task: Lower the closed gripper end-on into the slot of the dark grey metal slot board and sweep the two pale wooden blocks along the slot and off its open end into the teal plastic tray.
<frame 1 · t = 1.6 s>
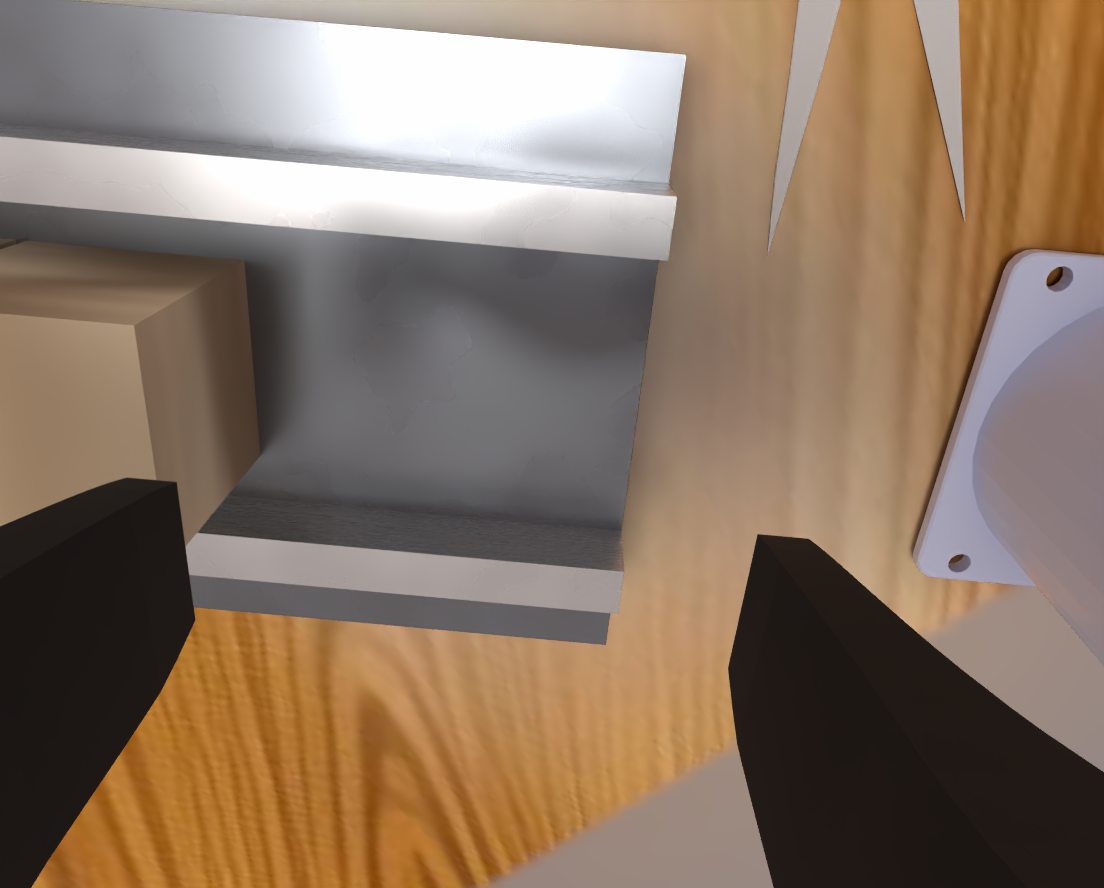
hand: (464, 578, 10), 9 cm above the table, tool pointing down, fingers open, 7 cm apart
block 2: (149, 354, 16), point 3 cm above the table, touching slot board
slot board: (280, 316, 18), on the table
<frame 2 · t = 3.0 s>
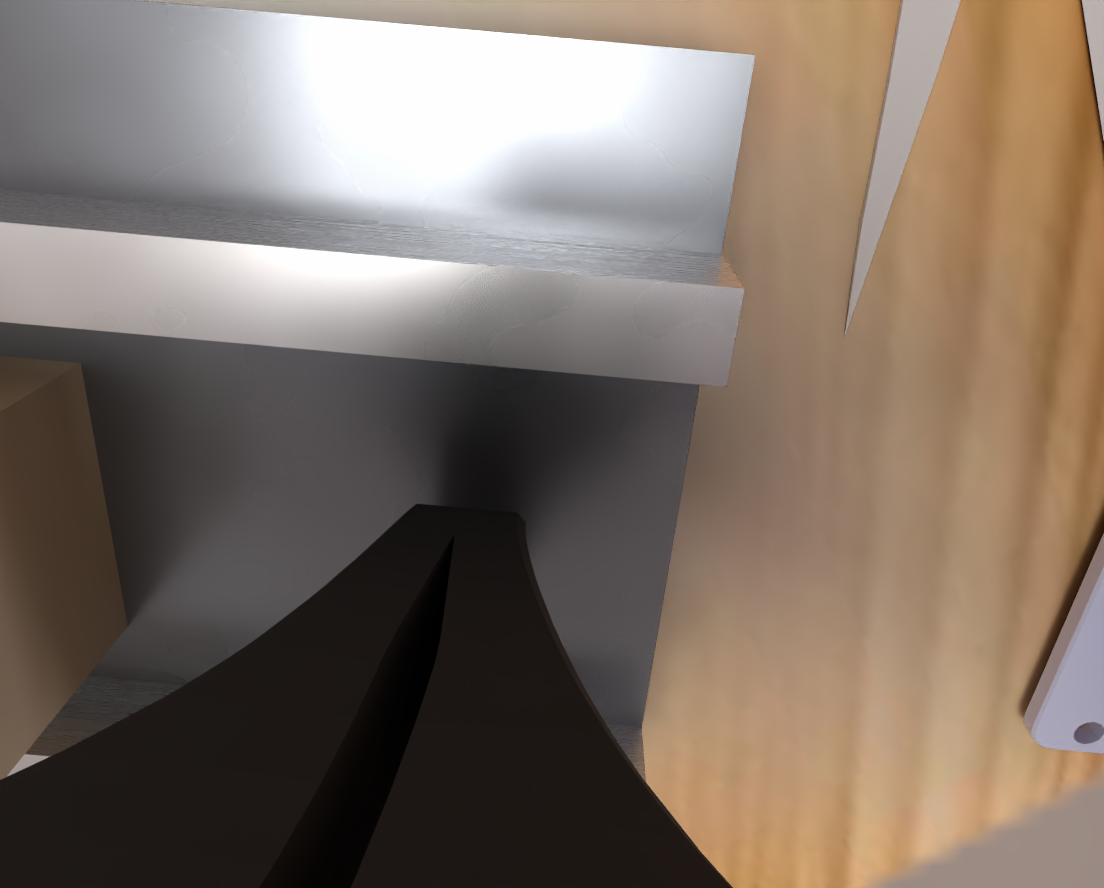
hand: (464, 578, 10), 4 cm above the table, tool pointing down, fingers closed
slot board: (172, 412, 14), on the table
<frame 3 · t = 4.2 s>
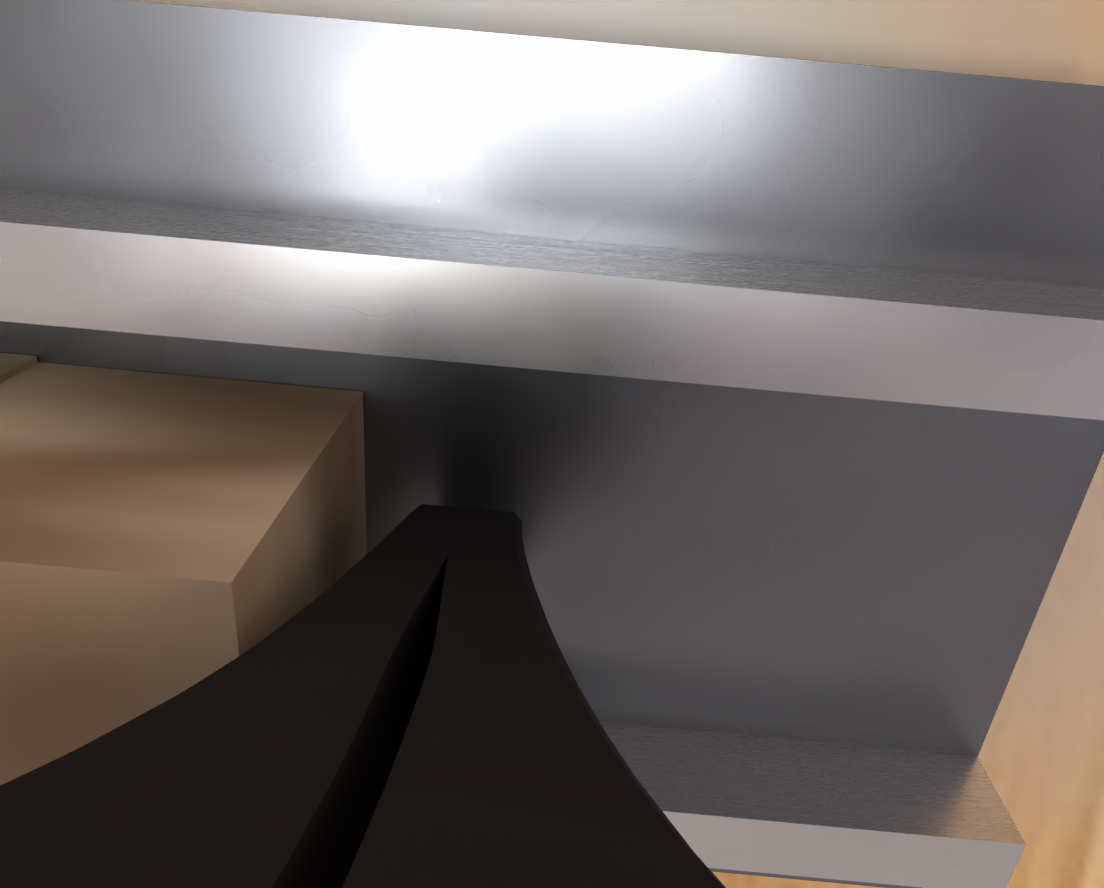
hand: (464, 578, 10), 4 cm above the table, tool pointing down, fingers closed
block 2: (216, 517, 11), point 3 cm above the table, touching block 1, gripper, slot board
slot board: (473, 439, 14), on the table
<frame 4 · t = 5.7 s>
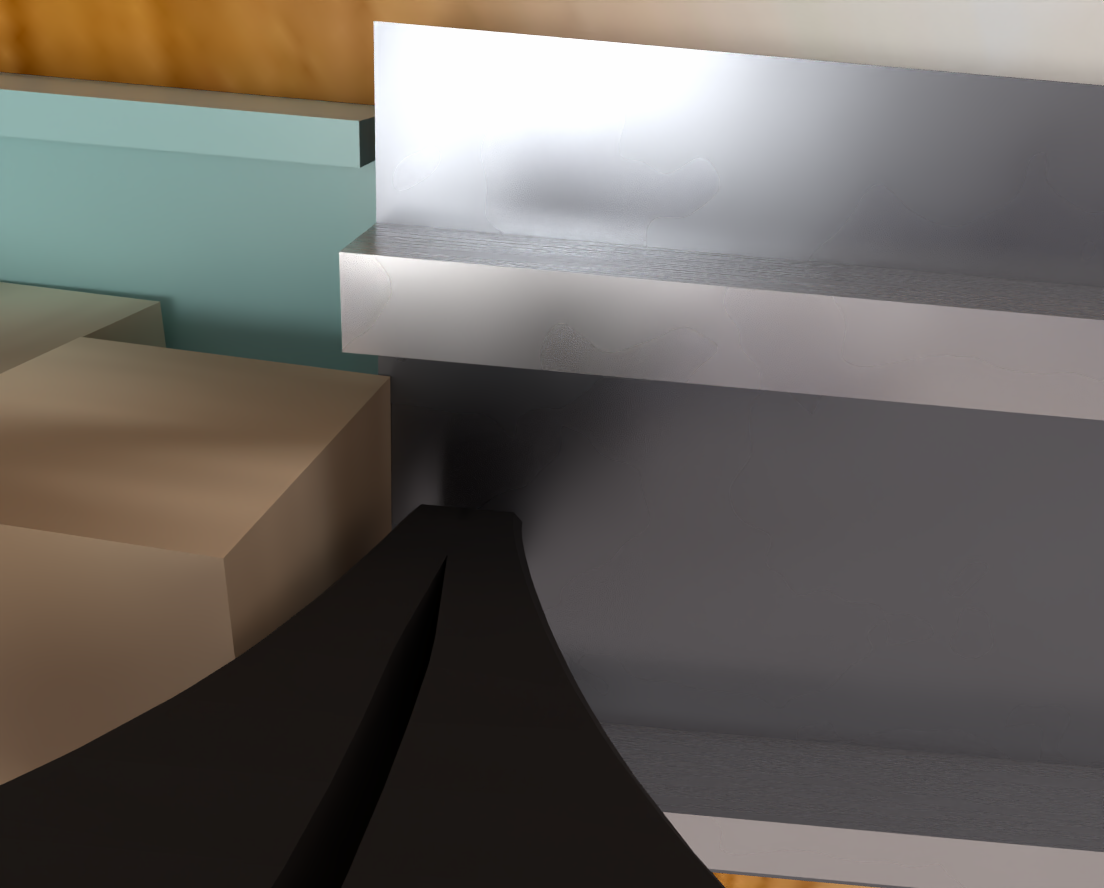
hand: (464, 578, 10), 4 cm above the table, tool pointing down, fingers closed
block 1: (93, 487, 11), point 3 cm above the table, tilted 96°, touching block 2
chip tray: (133, 408, 14), on the table
block 2: (246, 497, 11), point 3 cm above the table, tilted 6°, touching block 1, gripper
slot board: (904, 478, 13), on the table
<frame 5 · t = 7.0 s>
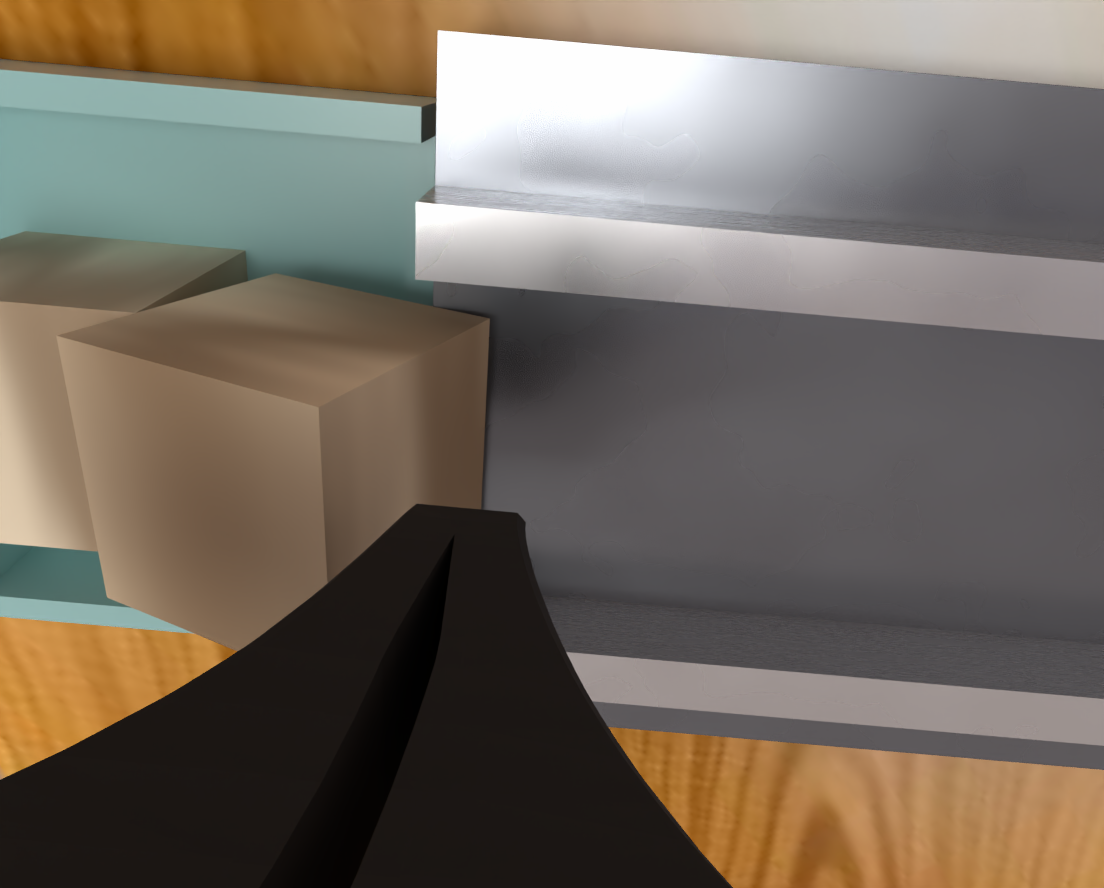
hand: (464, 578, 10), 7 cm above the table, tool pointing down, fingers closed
block 1: (210, 393, 14), point 3 cm above the table, tilted 90°, touching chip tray, block 2
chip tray: (215, 351, 16), on the table
block 2: (379, 410, 14), point 3 cm above the table, tilted 22°, touching block 1, slot board
slot board: (857, 407, 16), on the table
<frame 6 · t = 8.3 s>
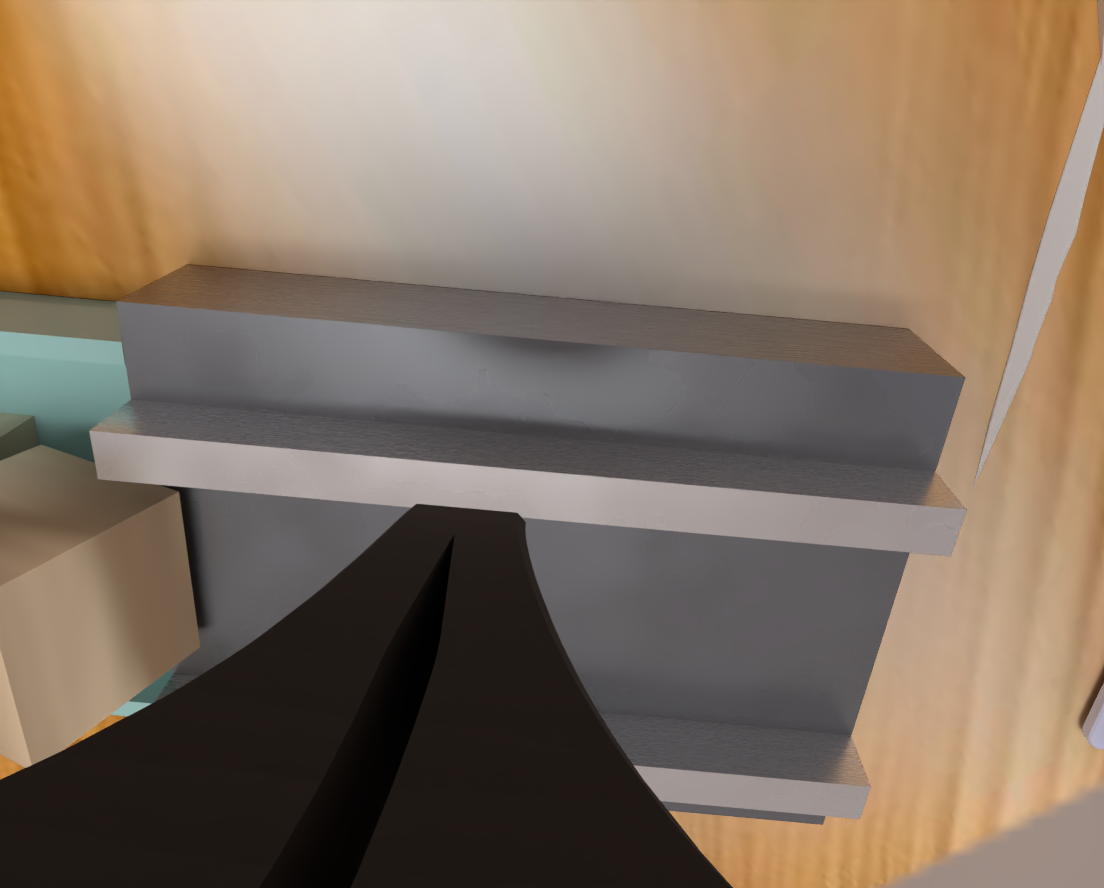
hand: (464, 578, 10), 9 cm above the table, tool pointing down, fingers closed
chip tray: (24, 483, 21), on the table
block 2: (121, 546, 18), point 3 cm above the table, tilted 22°, touching block 1, slot board
slot board: (528, 528, 21), on the table
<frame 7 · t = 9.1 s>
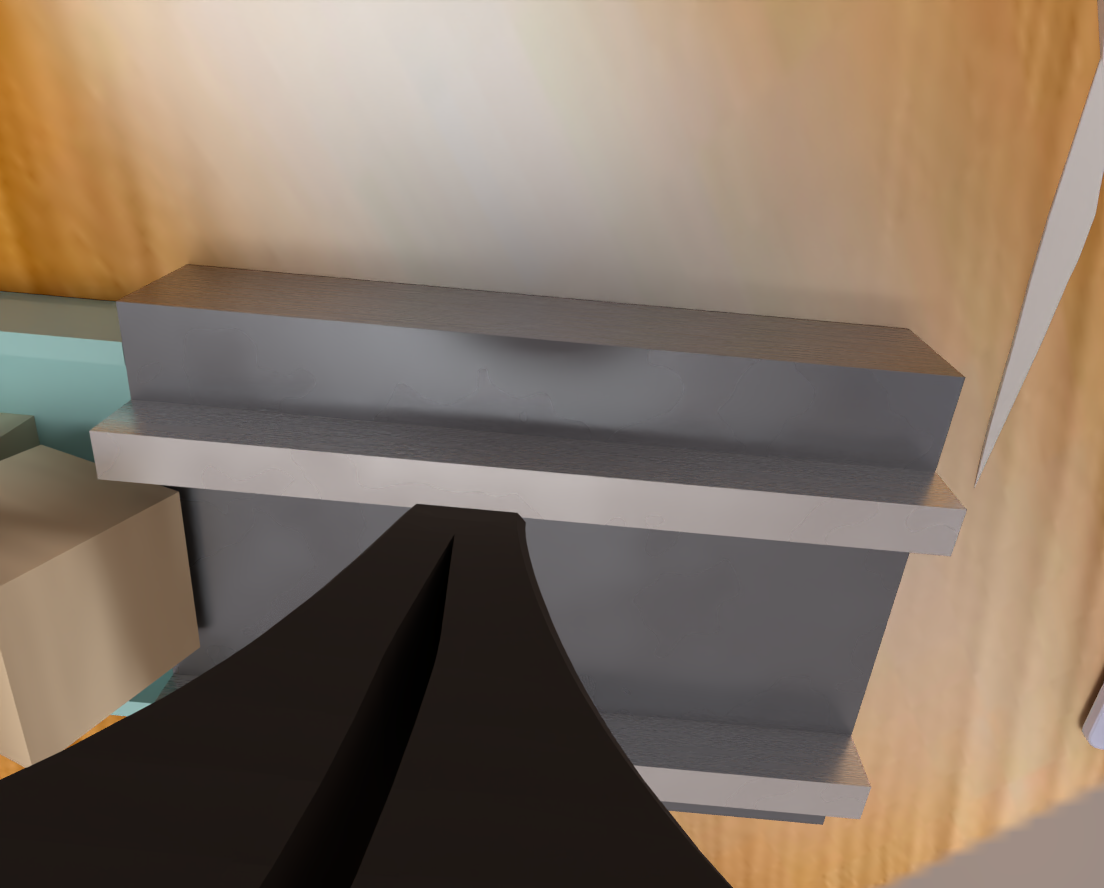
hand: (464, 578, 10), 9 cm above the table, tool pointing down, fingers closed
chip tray: (24, 483, 21), on the table
block 2: (121, 546, 18), point 3 cm above the table, tilted 22°, touching block 1, slot board
slot board: (528, 528, 21), on the table
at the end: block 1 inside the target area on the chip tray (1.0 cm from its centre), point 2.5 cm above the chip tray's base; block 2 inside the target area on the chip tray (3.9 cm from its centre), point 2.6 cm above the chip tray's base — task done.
